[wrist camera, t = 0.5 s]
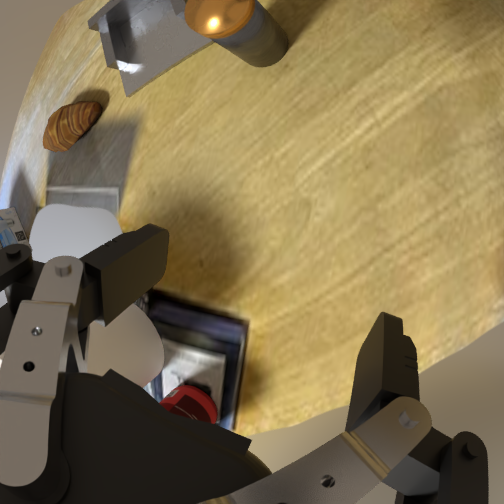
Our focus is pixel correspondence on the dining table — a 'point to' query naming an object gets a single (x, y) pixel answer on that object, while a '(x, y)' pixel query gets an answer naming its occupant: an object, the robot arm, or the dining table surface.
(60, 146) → the croissant
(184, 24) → the keeper bracket
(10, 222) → the light bulb box
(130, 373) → the canister
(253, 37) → the grey and copper cylinder
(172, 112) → the dining table surface
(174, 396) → the canned food
